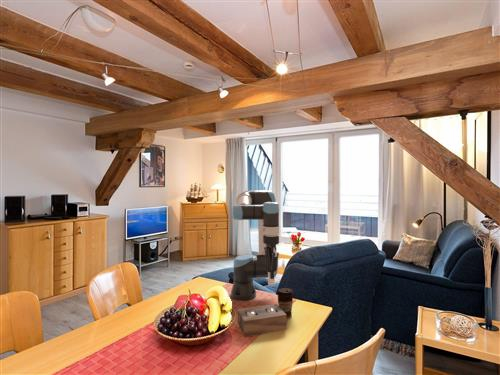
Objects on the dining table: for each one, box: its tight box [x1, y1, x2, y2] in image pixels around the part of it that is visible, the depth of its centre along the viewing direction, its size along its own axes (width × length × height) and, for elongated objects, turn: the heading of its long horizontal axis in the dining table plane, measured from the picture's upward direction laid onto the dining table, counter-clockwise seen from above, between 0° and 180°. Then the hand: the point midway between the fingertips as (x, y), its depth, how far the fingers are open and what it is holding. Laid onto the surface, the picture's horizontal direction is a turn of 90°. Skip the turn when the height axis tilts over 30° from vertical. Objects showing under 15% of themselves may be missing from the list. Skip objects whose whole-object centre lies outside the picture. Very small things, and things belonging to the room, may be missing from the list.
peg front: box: [247, 311, 256, 317], centre depth 128 cm, size 4×4×6 cm
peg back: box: [267, 308, 276, 313], centre depth 131 cm, size 4×4×6 cm
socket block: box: [237, 303, 288, 338], centre depth 130 cm, size 12×20×7 cm, turn 107°
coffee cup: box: [276, 287, 295, 319], centre depth 141 cm, size 9×8×13 cm
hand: (271, 284), depth 131 cm, fingers closed
